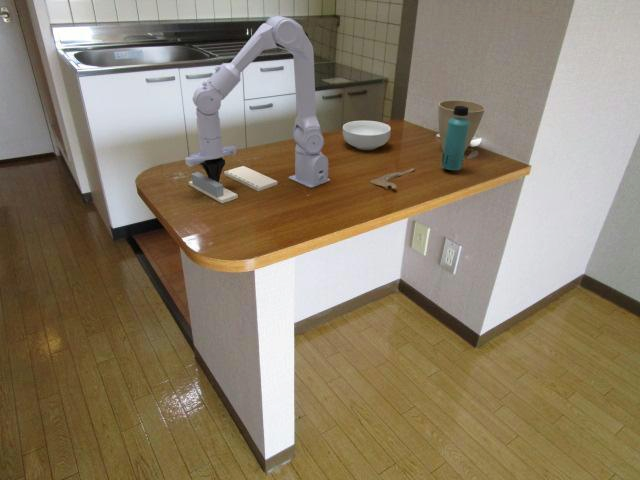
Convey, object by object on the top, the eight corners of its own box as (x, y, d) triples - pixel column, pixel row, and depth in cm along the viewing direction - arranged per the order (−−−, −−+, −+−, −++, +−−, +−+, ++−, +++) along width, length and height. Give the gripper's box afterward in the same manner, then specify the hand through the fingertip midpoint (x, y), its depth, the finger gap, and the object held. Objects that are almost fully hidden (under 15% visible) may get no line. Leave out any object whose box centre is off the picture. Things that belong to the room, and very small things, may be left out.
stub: (237, 198, 122) (236, 184, 120) (222, 203, 118) (220, 189, 116) (204, 180, 131) (203, 167, 129) (189, 185, 128) (187, 171, 126)
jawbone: (365, 190, 131) (365, 183, 130) (388, 168, 147) (388, 162, 146) (395, 194, 127) (395, 187, 126) (415, 171, 143) (415, 165, 142)
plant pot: (423, 151, 158) (430, 105, 150) (444, 142, 168) (452, 98, 160) (463, 162, 150) (472, 114, 142) (482, 152, 159) (492, 105, 151)
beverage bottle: (464, 171, 143) (477, 106, 133) (454, 176, 139) (466, 110, 129) (446, 165, 147) (457, 102, 137) (435, 171, 142) (446, 106, 132)
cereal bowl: (344, 137, 169) (345, 118, 166) (389, 140, 168) (391, 121, 164) (339, 152, 155) (340, 132, 151) (388, 156, 153) (390, 135, 150)
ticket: (277, 184, 130) (277, 180, 130) (258, 191, 126) (258, 187, 125) (243, 168, 140) (243, 165, 139) (224, 174, 136) (224, 171, 135)
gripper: (224, 127, 124) (228, 173, 131) (176, 138, 115) (183, 187, 122) (239, 133, 120) (242, 181, 127) (191, 144, 111) (197, 195, 118)
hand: (214, 184), depth 124 cm, fingers closed
